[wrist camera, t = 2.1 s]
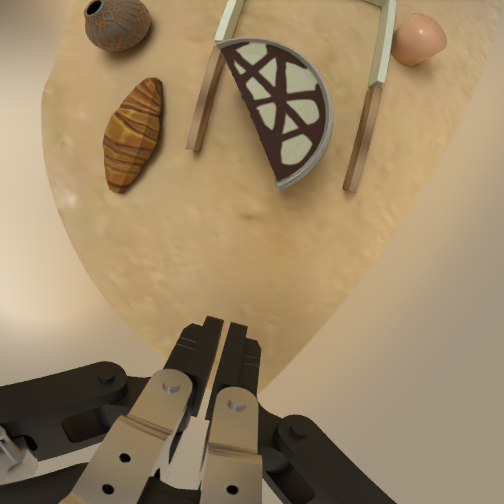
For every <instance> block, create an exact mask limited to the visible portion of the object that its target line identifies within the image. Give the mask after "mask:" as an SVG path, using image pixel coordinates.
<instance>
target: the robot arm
mask: <svg viewBox="0 0 504 504" xmlns="http://www.w3.org/2000/svg"><path fill="white" fill-rule="evenodd" d="M223 323H224V320H222V319H218V318H215V317H211V316H207V317H206V320H205V322H204V324H203V326H200V325H196V324H193V323H192V324H190V325H189V326H187V327H186V328H184V329H183V331H182V333H181V335H180V338H179V339H178V341H177V343H176V345H175V347H174V349H173V351H172V353H171V354H170V356H169V358H168V360H167V362H166V364H165V366H164V368H163V370H159V371H157V372H156V373H154V374H153V376H152V377H147V378H139V377H131V376H127V375H126V373H125V371H124V369H123V368H122V367H121V366H119V365H117V364H115V363H113V362H107V361H103V362H97V363H94V364H90V365H87V366H83V367H79V368H76V369H72V370H69V371H65V372H61V373H57V374H53V375H49V376H45V377H41V378H37V379H32V380H28V381H24V382H20V383H15V384H11V385H5V386H1V387H0V504H262V478H263V479H264V480H265V481H266V483H267V484H268V485H269V487H270V488H271V489H272V490H273V492H274V493H275V494H276V495H277V497H278V498H279V499H280V500H281V501H282V502H283V504H397V503H395V502H394V501H393V500H392V499H391V498H390V497H389V496H388V495H387V494H385V493H384V492H383V491H382V490H381V489H380V488H379V487H378V486H377V485H376V484H375V483H374V482H373V481H371V480H370V479H369V478H368V477H367V476H366V475H365V474H364V473H363V472H362V471H361V470H360V469H359V468H358V467H357V466H356V465H355V464H354V463H353V462H352V461H351V460H350V459H349V458H348V457H347V456H346V455H345V454H344V453H343V452H342V451H341V450H340V449H339V448H338V447H337V446H336V445H335V444H334V443H333V442H332V441H331V440H330V439H329V438H328V437H327V436H326V434H325V433H323V432H322V430H321V429H320V428H319V427H318V426H317V425H316V424H315V423H314V422H313V421H312V420H310V419H309V418H307V417H305V416H302V415H289V416H286V417H284V418H283V419H282V418H280V417H278V416H276V415H273V414H271V413H269V412H268V411H266V410H265V409H264V408H263V407H262V406H261V405H260V404H259V402H258V400H257V385H258V376H259V366H260V357H261V348H260V346H259V344H258V342H257V340H252V339H248V338H246V333H247V327H248V326H245V325H241V324H237V323H233V322H231V324H230V327H229V331H228V334H227V338H226V341H225V345H224V348H223V352H222V355H221V359H220V362H219V366H218V369H217V373H216V377H215V380H214V384H213V388H212V393H211V396H210V400H209V405H208V409H207V413H206V417H205V420H209V421H210V422H209V426H208V430H207V434H206V438H205V443H204V448H203V454H202V459H201V465H200V470H199V476H198V481H197V485H196V490H187V489H177V488H174V487H172V486H170V485H168V484H166V481H167V478H168V474H169V470H170V467H171V465H172V462H173V460H174V458H175V455H176V453H177V450H178V448H179V445H180V443H181V440H182V438H183V436H184V433H185V430H186V428H187V426H188V423H189V421H190V417H191V416H194V417H197V415H198V412H199V409H200V405H201V402H202V399H203V396H204V392H205V389H206V386H207V383H208V379H209V376H210V373H211V370H212V366H213V363H214V360H215V356H216V353H217V349H218V345H219V340H220V336H221V332H222V328H223ZM99 442H102V443H101V445H100V446H99V448H98V449H97V451H96V452H95V454H94V456H93V457H92V459H91V460H90V462H88V463H80V464H76V465H73V466H70V467H67V468H64V469H61V470H57V471H55V472H51V473H48V474H44V475H41V476H37V477H33V478H29V479H25V478H27V477H29V476H32V475H34V474H35V472H36V470H37V466H38V462H39V461H42V460H46V459H50V458H54V457H57V456H60V455H64V454H67V453H70V452H73V451H76V450H79V449H82V448H85V447H88V446H91V445H94V444H97V443H99ZM24 479H25V480H24Z"/></svg>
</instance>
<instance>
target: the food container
mask: <svg viewBox="0 0 504 504" xmlns="http://www.w3.org/2000/svg"><path fill="white" fill-rule="evenodd" d="M216 45H217V47H218V49H219V50H220V52H221V54H222V56H223V58H224V59H225V61H226V63H227V65H228V67H229V69H230V70H231V72H232V75H233V76H234V79H235V81H236V83H237V85H238V88H239V89H240V91H241V94H242V98H243V100H244V101H245V103H246V105H247V108H248V110H249V112H250V115H251V116H250V117H251V118H252V119H253V123H254V124H255V126H256V129H257V131H258V134H259V136H260V141H262V144H263V146H264V149H265V151H266V154H267V156H268V160H269V161H270V164H271V166H272V169H273V171H274V175H275V180H276V185H277V187H278V190H279V191H281V190H283V189H285V188H288V187H290V186H292V185H293V184H295V183H296V182H298V181H299V180H301V179H302V178H303V177H305V176H306V175H307V174H308V173H309V172H310V171H311V170H312V169H313V168H314V167H315V165H316V164H317V163H318V162H319V161H320V159H321V157H322V156H323V154H324V152H325V150H326V149H327V146H328V143H329V140H330V138H331V133H332V127H333V107H332V101H331V96H330V93H329V90H328V87H327V85H326V83H325V81H324V79H323V77H322V76H321V74H320V73H319V71H318V70H317V69H316V68H315V66H314V65H313V64H312V63H311V62H310V61H309V60H308V59H307V58H306V57H304V56H303V55H302V54H300V53H299V52H297V51H296V50H294V49H293V48H291V47H288V46H286V45H284V44H282V43H279V42H276V41H272V40H268V39H264V38H255V37H244V38H235V39H229V40H225V41H222V42H219V43H216Z"/></svg>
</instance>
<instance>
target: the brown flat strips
mask: <svg viewBox="0 0 504 504" xmlns="http://www.w3.org/2000/svg"><path fill="white" fill-rule="evenodd" d="M224 61H225V59H224V58H223V56H222V54H221V52H220V50H219V49H218V47H217V46H214V47H213V50H212V53H211V57H210V60H209V63H208V66H207V70H206V73H205V76H204V80H203V83H202V87H201V90H200V94H199V98H198V101H197V105H196V109H195V113H194V117H193V121H192V125H191V129H190V133H189V137H188V142H187V146H186V149H189V150H194V151H201V147H202V143H203V138H204V134H205V130H206V126H207V122H208V118H209V114H210V110H211V107H212V103H213V99H214V96H215V92H216V88H217V85H218V81H219V78H220V74H221V71H222V68H223V64H224ZM381 92H382V89H381V88H379V87H377V86H374V87H372V88H371V89H369V90H368V91H367V94H366V99H365V103H364V107H363V112H362V116H361V120H360V124H359V129H358V133H357V137H356V140H355V144H354V148H353V152H352V156H351V160H350V163H349V167H348V170H347V174H346V178H345V181H344V185H343V188H344V189H346V190H348V191H351V192H354V193H356V192H357V188H358V185H359V181H360V178H361V174H362V171H363V167H364V163H365V160H366V156H367V152H368V148H369V144H370V140H371V136H372V132H373V128H374V124H375V120H376V115H377V111H378V106H379V102H380V97H381Z"/></svg>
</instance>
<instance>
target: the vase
mask: <svg viewBox="0 0 504 504" xmlns="http://www.w3.org/2000/svg"><path fill="white" fill-rule="evenodd" d="M84 16H85V18H86V21H85V30H86V34H87V36H88V38H89V39H90V41H91V42H92V43H93V44H94V45H95V46H97V47H99V48H101V49H103V50H107V51H124V50H127V49H129V48H132V47H133V46H135V45H137V44H138V43H139V42H140V41H141V40H142V39H143V38H144V37H145V35H146V34H147V32H148V30H149V27H150V14H149V12H148V9H147V8H146V7H145V5H144V4H143V3H142V2H141V1H139V0H93V1H91V2H90V3H89V4H88V5H87V7H86V8H85V10H84Z"/></svg>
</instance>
